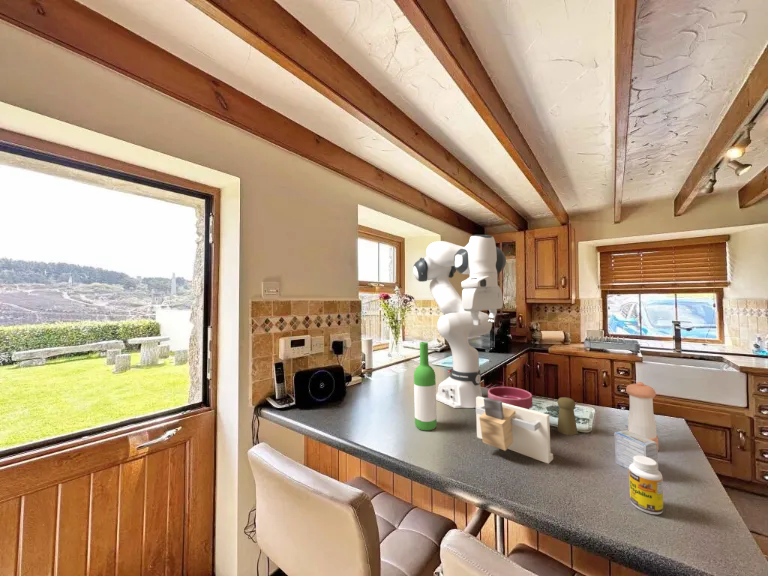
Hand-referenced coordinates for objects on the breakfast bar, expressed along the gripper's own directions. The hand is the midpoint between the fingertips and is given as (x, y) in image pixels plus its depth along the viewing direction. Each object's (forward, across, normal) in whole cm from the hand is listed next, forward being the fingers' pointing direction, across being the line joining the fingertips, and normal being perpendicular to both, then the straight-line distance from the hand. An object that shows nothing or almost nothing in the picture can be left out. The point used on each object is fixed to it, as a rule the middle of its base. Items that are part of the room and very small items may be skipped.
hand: (484, 323), depth 102 cm
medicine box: (+37, -10, +37) cm, 54 cm away
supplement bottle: (+37, +6, +41) cm, 56 cm away
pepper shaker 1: (+37, -22, +17) cm, 47 cm away
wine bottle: (+37, +9, -19) cm, 43 cm away
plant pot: (+37, -10, +3) cm, 39 cm away
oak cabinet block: (+33, +7, +8) cm, 35 cm away
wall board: (+37, +2, +9) cm, 38 cm away
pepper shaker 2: (+37, -27, +36) cm, 58 cm away
